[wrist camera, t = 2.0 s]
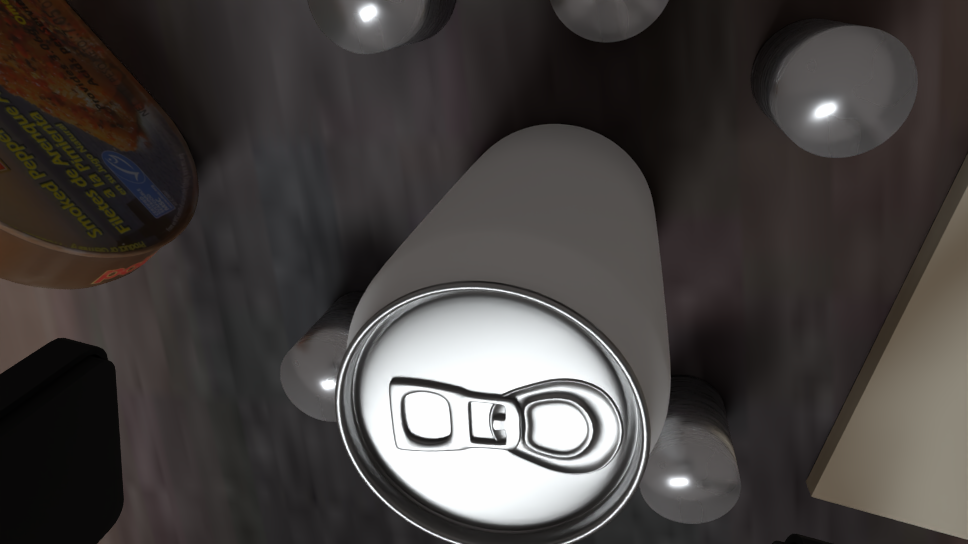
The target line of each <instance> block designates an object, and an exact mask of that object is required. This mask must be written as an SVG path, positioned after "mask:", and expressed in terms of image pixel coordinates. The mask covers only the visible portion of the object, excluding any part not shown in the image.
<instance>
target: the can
mask: <svg viewBox="0 0 968 544" xmlns="http://www.w3.org/2000/svg"><path fill="white" fill-rule="evenodd" d="M670 388H671V370H670V352H669V340H668V328H667V318H666V308H665V298H664V288H663V278H662V269H661V260H660V250H659V242H658V233H657V225H656V217H655V210H654V205H653V200H652V196H651V192H650V189H649V186H648V184H647V181H646V179H645V177H644V175H643V173H642V172H641V170H640V169H639V167H638V166H637V164H636V163H635V162H634V161H633V159H632V158H631V157H630V156H629V155H628V154H627V153H626V152H625V151H624V150H623V149H622V148H621V147H619V146H618V145H617V144H615V143H614V142H613V141H611V140H609V139H608V138H606V137H604V136H602V135H600V134H598V133H596V132H594V131H591V130H589V129H585V128H582V127H578V126H573V125H566V124H544V125H537V126H532V127H528V128H525V129H522V130H519V131H516V132H514V133H512V134H510V135H508V136H506V137H505V138H503V139H501V140H500V141H498V142H497V143H495V144H494V145H493V146H491V147H490V148H489V149H488V150H487V151H486V152H485V153H484V154H483V155H482V156H481V157H480V158H479V159H478V160H477V161H476V162H475V163H474V164H473V165H472V166H471V167H470V168H469V169H468V171H467V172H466V173H465V174H464V175H463V176H462V177H461V178H460V179H459V180H458V182H457V183H456V184H455V185H454V186H453V187H452V188H451V189H450V190H449V192H448V193H447V194H446V195H445V196H444V197H443V198H442V199H441V200H440V202H439V203H438V204H437V205H436V206H435V207H434V208H433V209H432V211H431V212H430V213H429V214H428V215H427V216H426V217H425V218H424V220H423V221H422V222H421V223H420V224H419V225H418V226H417V227H416V229H415V230H414V231H413V232H412V233H411V234H410V235H409V237H408V238H407V239H406V240H405V241H404V242H403V243H402V245H401V246H400V247H399V248H398V249H397V250H396V252H395V253H394V254H393V255H392V256H391V257H390V258H389V260H388V261H387V262H386V263H385V265H384V266H383V267H382V268H381V270H380V271H379V272H378V273H377V275H376V276H375V277H374V279H373V280H372V281H371V283H370V284H369V286H368V287H367V289H366V291H365V293H364V294H363V296H362V298H361V300H360V302H359V304H358V306H357V308H356V310H355V313H354V315H353V318H352V321H351V325H350V329H349V334H348V340H347V349H346V352H345V354H344V356H343V359H342V361H341V364H340V367H339V371H338V375H337V380H336V387H335V412H336V419H337V425H338V429H339V433H340V436H341V439H342V442H343V445H344V447H345V450H346V452H347V454H348V456H349V458H350V460H351V462H352V464H353V465H354V467H355V469H356V470H357V472H358V473H359V475H360V476H361V478H362V479H363V480H364V482H365V483H366V484H367V485H368V487H369V488H370V489H371V490H372V491H373V492H374V494H375V495H376V496H377V497H378V498H379V499H380V500H381V501H382V502H383V503H384V504H386V505H387V506H388V507H389V508H390V509H391V510H393V511H394V512H395V513H396V514H398V515H399V516H400V517H402V518H403V519H405V520H406V521H408V522H409V523H411V524H412V525H414V526H416V527H417V528H419V529H421V530H423V531H424V532H426V533H428V534H430V535H433V536H435V537H437V538H439V539H442V540H444V541H447V542H450V543H452V544H572V543H575V542H577V541H579V540H582V539H584V538H586V537H588V536H590V535H591V534H593V533H595V532H596V531H598V530H599V529H601V528H602V527H604V526H605V525H606V524H608V523H609V522H610V521H611V520H612V519H614V518H615V517H616V516H617V515H618V514H619V513H620V512H621V511H622V510H623V508H624V507H625V506H626V505H627V504H628V502H629V501H630V500H631V498H632V497H633V495H634V494H635V492H636V490H637V488H638V486H639V484H640V482H641V480H642V478H643V475H644V473H645V470H646V466H647V463H648V458H649V454H650V453H651V451H652V449H653V448H654V446H655V444H656V442H657V440H658V438H659V436H660V434H661V431H662V429H663V426H664V423H665V419H666V416H667V411H668V405H669V398H670Z"/></svg>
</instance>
